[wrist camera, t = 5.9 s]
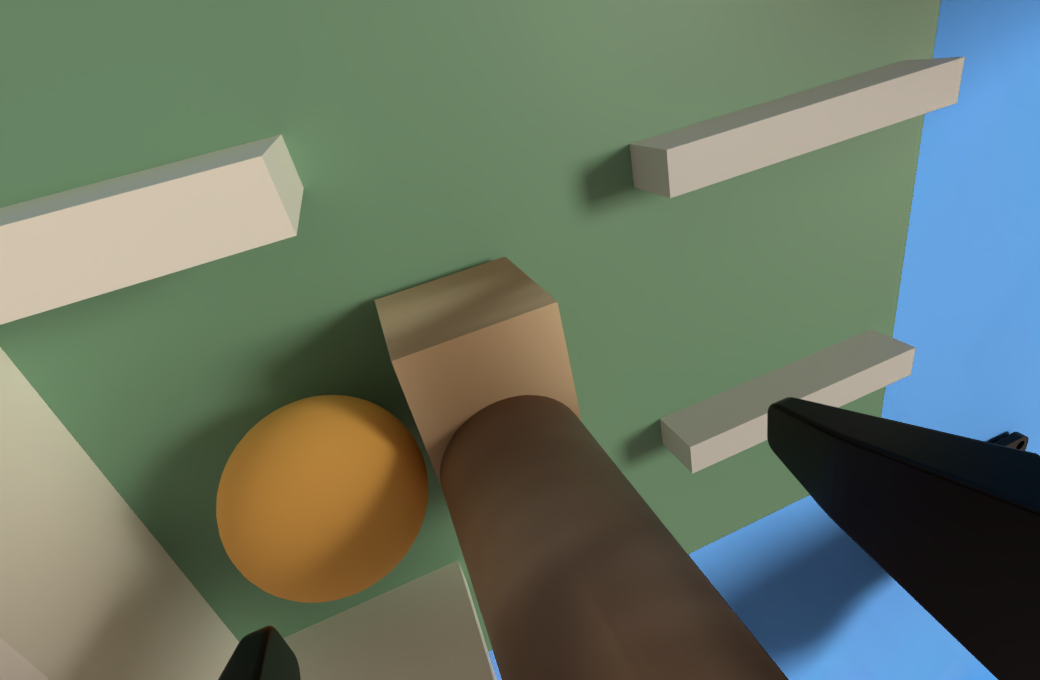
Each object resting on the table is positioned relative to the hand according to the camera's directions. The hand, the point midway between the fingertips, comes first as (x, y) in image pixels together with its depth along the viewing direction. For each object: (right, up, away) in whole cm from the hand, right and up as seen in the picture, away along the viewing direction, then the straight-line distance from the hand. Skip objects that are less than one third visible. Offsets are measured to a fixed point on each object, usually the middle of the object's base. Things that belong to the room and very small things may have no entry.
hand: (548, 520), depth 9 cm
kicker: (-2, +2, +4) cm, 5 cm away
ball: (-4, 0, +2) cm, 5 cm away
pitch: (0, +3, +6) cm, 6 cm away
